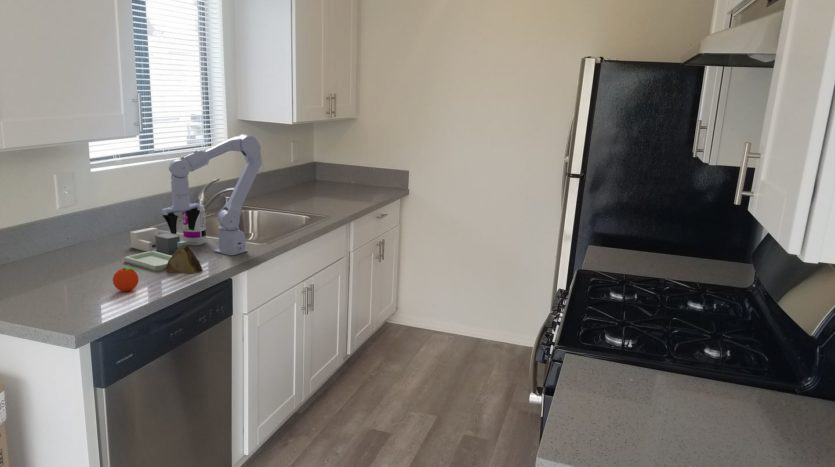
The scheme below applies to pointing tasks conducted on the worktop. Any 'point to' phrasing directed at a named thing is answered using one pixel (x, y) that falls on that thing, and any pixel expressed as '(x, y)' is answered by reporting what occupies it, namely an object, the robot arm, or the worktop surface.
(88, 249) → the worktop surface
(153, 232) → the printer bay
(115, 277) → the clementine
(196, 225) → the supplement can
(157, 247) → the toner caddy
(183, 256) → the rock
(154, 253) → the tray
